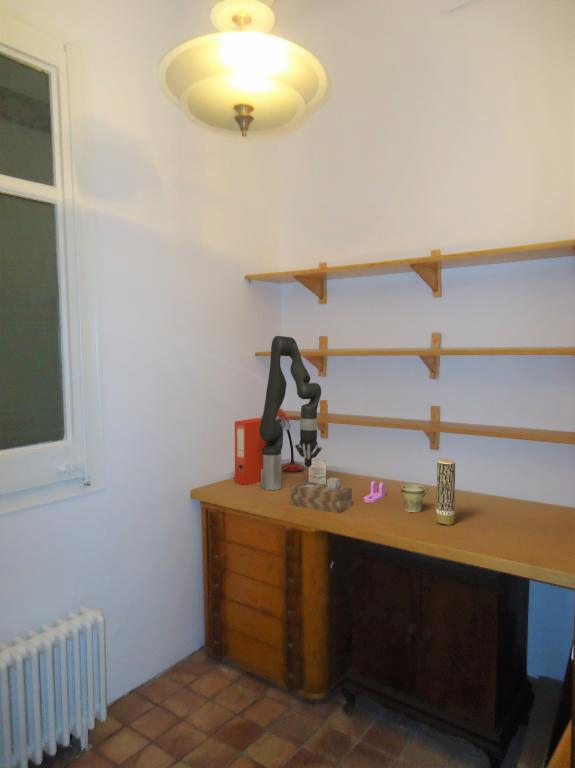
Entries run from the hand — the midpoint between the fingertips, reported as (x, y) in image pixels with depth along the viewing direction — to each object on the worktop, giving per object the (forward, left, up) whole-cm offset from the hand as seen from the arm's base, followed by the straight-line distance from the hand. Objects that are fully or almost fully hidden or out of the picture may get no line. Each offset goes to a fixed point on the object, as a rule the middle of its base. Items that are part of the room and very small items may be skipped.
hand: (308, 466), depth 232 cm
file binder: (-44, +19, -17) cm, 51 cm away
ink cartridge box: (-8, +23, -17) cm, 30 cm away
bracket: (+22, +21, -17) cm, 35 cm away
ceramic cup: (+44, +14, -17) cm, 49 cm away
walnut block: (+6, 0, -17) cm, 18 cm away
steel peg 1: (0, 0, -17) cm, 17 cm away
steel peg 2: (+12, 0, -12) cm, 17 cm away
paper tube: (+59, +4, -17) cm, 62 cm away
